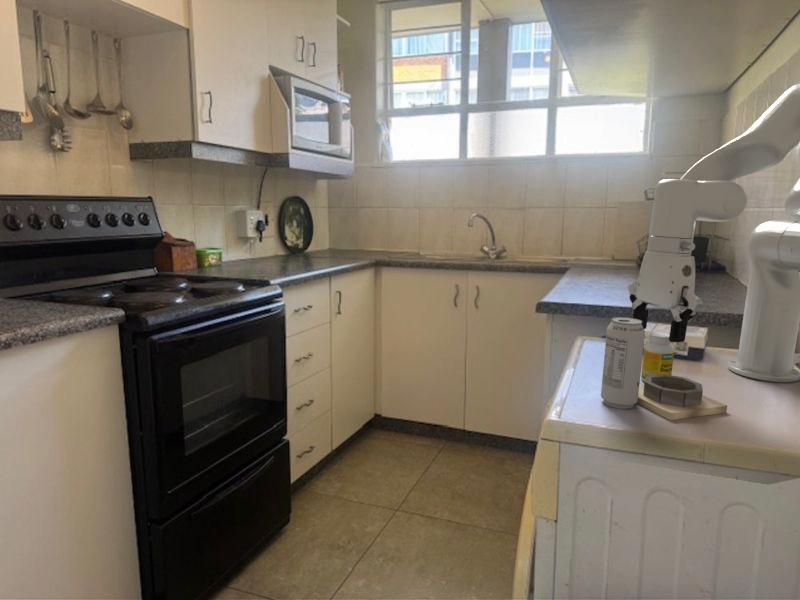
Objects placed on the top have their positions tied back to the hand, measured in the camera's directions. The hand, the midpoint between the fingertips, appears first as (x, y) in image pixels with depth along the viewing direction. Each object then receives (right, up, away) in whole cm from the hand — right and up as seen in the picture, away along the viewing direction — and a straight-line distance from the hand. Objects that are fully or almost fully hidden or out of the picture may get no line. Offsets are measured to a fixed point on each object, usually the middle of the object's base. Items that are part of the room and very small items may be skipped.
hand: (656, 335), depth 105 cm
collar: (-2, -11, -9) cm, 15 cm away
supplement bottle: (+1, -9, +2) cm, 10 cm away
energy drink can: (-11, -12, -10) cm, 19 cm away
